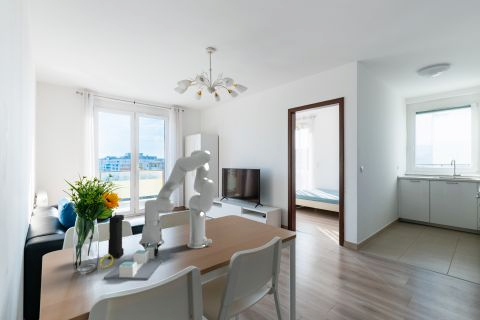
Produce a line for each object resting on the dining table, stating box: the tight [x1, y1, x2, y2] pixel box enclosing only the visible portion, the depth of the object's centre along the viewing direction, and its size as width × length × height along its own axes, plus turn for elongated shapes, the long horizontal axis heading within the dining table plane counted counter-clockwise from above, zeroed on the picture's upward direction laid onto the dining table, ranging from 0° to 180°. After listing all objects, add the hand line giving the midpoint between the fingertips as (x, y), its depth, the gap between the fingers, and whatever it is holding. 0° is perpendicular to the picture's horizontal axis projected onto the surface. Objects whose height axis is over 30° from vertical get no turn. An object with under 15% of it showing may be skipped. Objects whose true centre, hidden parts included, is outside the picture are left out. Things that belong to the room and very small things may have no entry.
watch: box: [99, 253, 115, 269], centre depth 115 cm, size 6×3×6 cm, turn 143°
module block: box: [146, 244, 155, 260], centre depth 127 cm, size 4×6×6 cm, turn 179°
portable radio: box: [107, 212, 125, 260], centre depth 127 cm, size 8×6×25 cm
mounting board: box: [103, 249, 163, 281], centre depth 112 cm, size 20×18×6 cm
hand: (151, 255), depth 127 cm, fingers closed on module block, 4 cm apart
